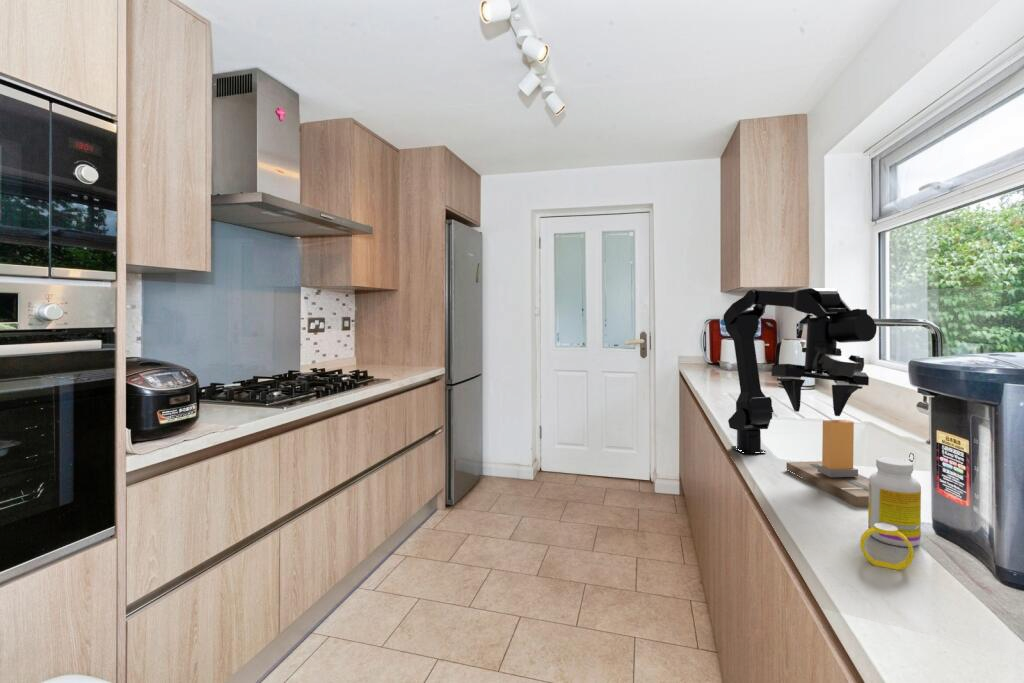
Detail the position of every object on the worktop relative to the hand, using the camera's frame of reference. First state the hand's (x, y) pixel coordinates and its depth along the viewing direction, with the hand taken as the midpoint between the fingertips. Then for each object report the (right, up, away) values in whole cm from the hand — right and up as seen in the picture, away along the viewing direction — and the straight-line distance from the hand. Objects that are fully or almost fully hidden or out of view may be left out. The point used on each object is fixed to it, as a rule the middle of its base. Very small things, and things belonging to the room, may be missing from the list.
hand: (817, 413), depth 105 cm
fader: (+3, -13, -2) cm, 13 cm away
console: (+3, -15, -3) cm, 16 cm away
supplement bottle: (-5, -16, -27) cm, 32 cm away
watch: (-13, -17, -36) cm, 41 cm away
